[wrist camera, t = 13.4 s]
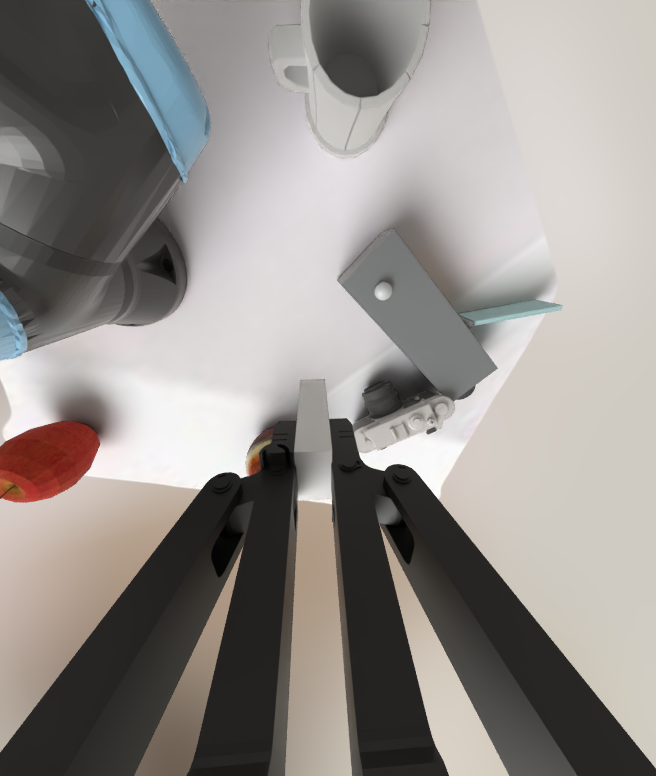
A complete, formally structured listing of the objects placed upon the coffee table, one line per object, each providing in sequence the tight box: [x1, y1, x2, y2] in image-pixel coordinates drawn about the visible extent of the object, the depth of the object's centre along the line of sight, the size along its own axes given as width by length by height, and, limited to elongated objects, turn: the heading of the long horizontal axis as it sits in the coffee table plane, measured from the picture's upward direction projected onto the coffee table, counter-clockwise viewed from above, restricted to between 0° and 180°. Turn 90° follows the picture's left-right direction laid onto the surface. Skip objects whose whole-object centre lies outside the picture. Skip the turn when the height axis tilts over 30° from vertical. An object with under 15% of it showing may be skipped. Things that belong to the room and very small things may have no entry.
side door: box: [458, 300, 562, 328], centre depth 37 cm, size 13×1×5 cm, turn 100°
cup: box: [268, 0, 430, 159], centre depth 23 cm, size 10×9×12 cm
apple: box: [0, 421, 100, 502], centre depth 39 cm, size 10×10×14 cm
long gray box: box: [337, 229, 498, 402], centre depth 36 cm, size 26×8×7 cm, turn 45°
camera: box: [352, 381, 455, 453], centre depth 41 cm, size 9×16×10 cm, turn 116°
